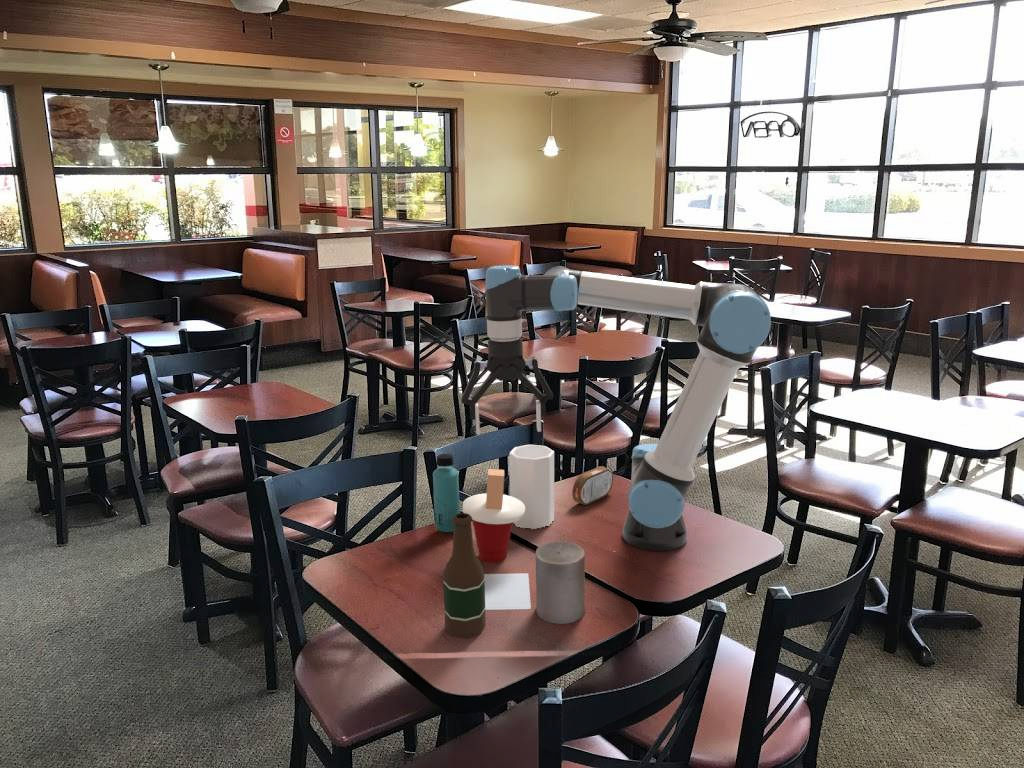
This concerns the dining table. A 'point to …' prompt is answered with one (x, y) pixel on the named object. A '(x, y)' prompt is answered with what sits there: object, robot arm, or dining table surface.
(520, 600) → the mat
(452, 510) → the beverage bottle
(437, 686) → the dining table surface
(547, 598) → the pillar candle
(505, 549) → the plastic cup
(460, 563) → the beer bottle
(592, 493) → the tin
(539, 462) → the cup
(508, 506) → the lid
